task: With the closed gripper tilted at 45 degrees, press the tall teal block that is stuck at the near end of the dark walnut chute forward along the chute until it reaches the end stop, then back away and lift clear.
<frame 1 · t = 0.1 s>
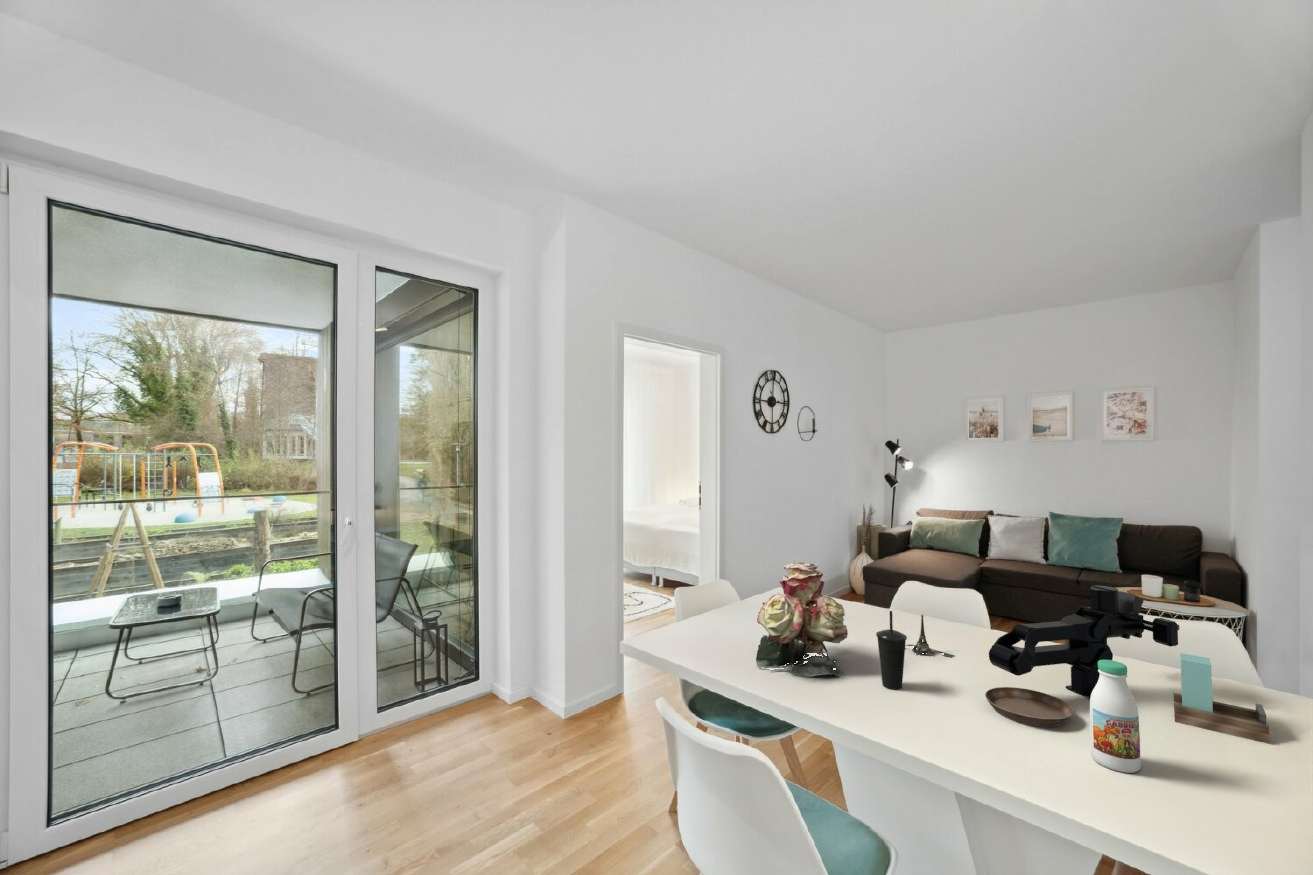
hand: (1159, 621, 150), 17 cm above the table, tool horizontal, fingers open, 9 cm apart
drinking cup: (892, 686, 149), on the table
milk bottle: (1115, 764, 111), on the table
rose bouquet: (803, 663, 166), on the table
chute: (1197, 717, 130), on the table
plant saucer: (1027, 714, 133), on the table
eiffel tower figurine: (924, 654, 174), on the table
jammed block: (1196, 684, 131), point 8 cm above the table, slide at 0.0 cm
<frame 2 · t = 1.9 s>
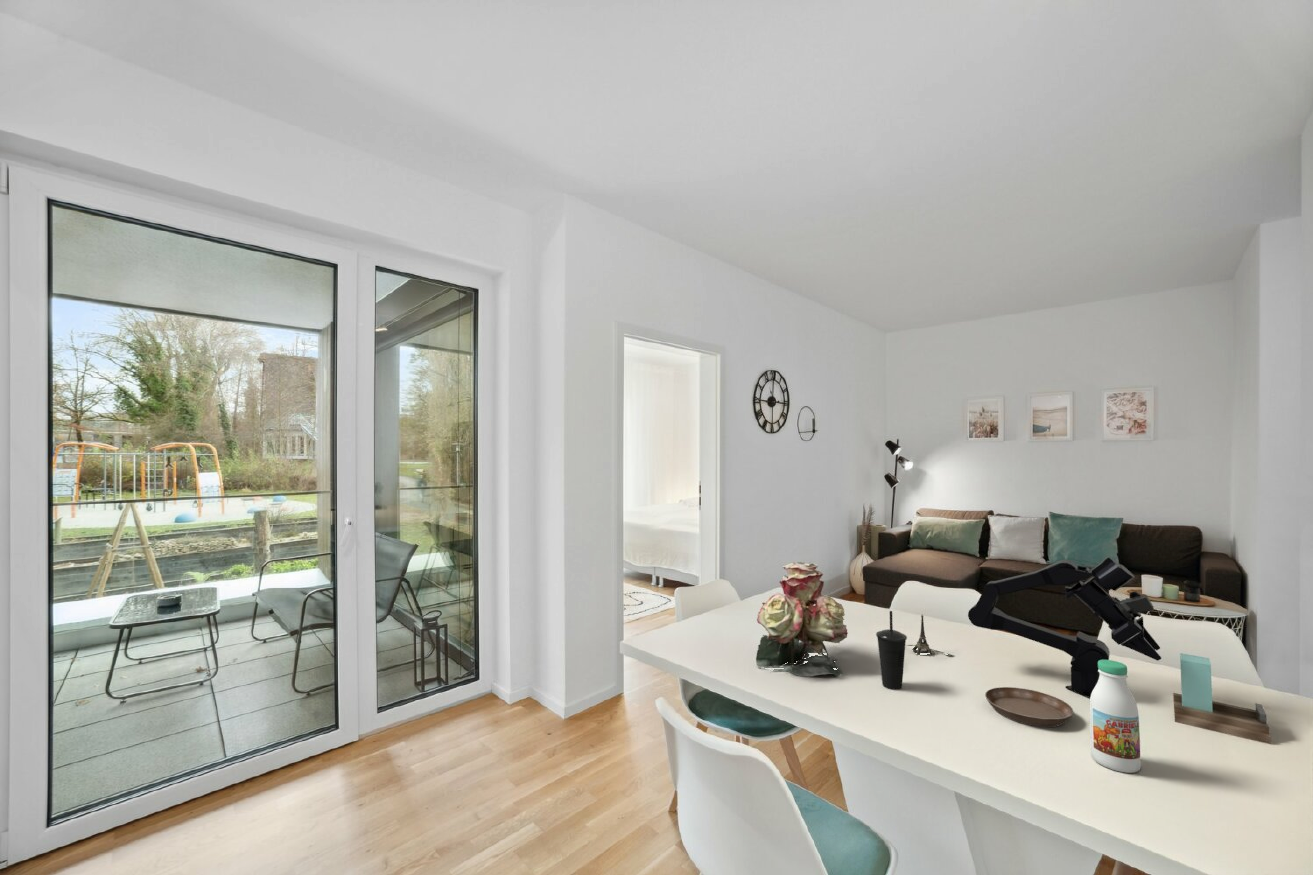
hand: (1159, 654, 135), 13 cm above the table, tool tilted 45°, fingers open, 9 cm apart
nothing on the table moved.
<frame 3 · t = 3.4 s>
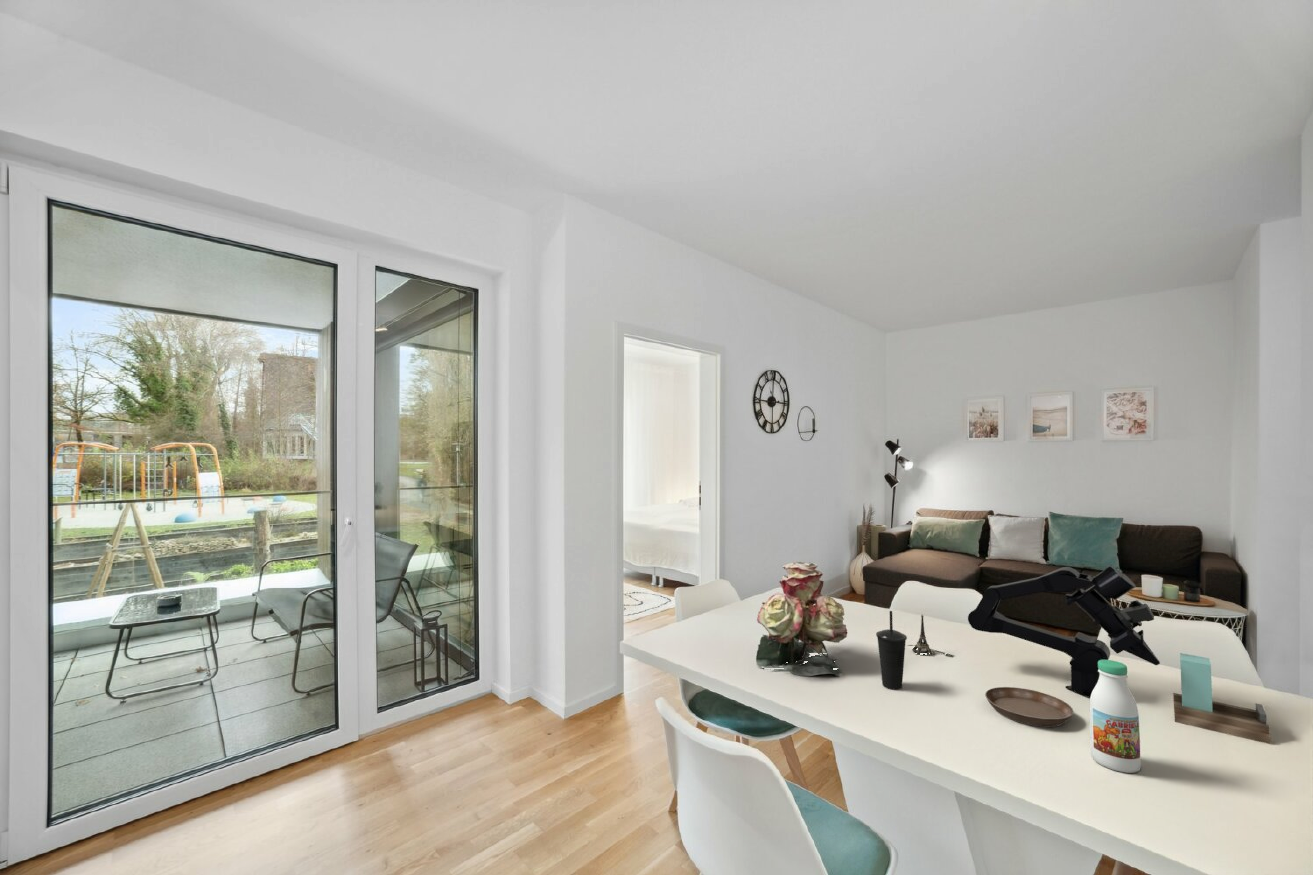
hand: (1158, 664, 135), 11 cm above the table, tool tilted 45°, fingers closed
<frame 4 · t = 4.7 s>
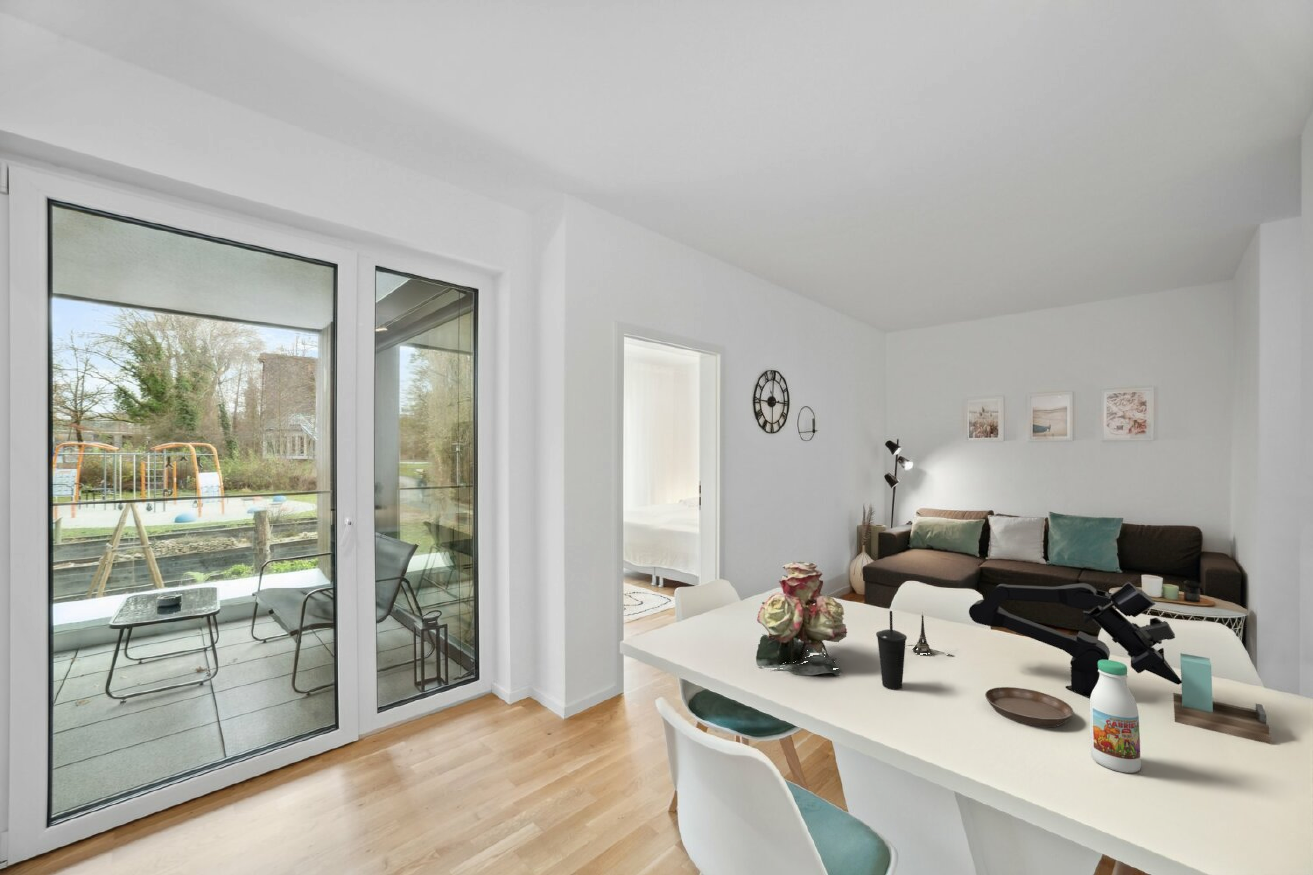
hand: (1180, 683, 132), 7 cm above the table, tool tilted 45°, fingers closed, pressing on jammed block
jammed block: (1196, 684, 131), point 8 cm above the table, slide at 0.0 cm, touching gripper
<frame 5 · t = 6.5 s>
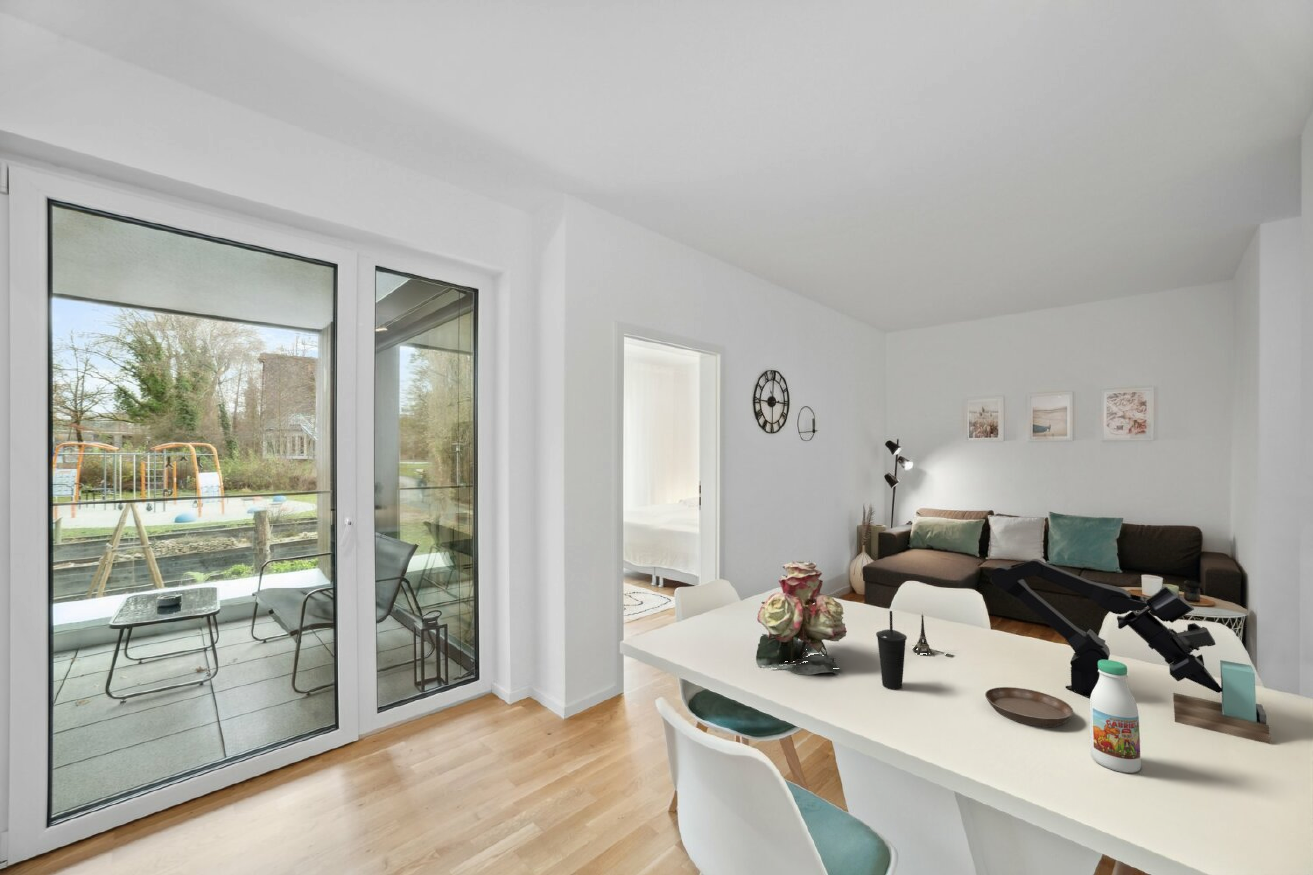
hand: (1220, 691, 128), 7 cm above the table, tool tilted 45°, fingers closed, pressing on jammed block
jammed block: (1238, 692, 126), point 8 cm above the table, slide at 6.8 cm, touching gripper
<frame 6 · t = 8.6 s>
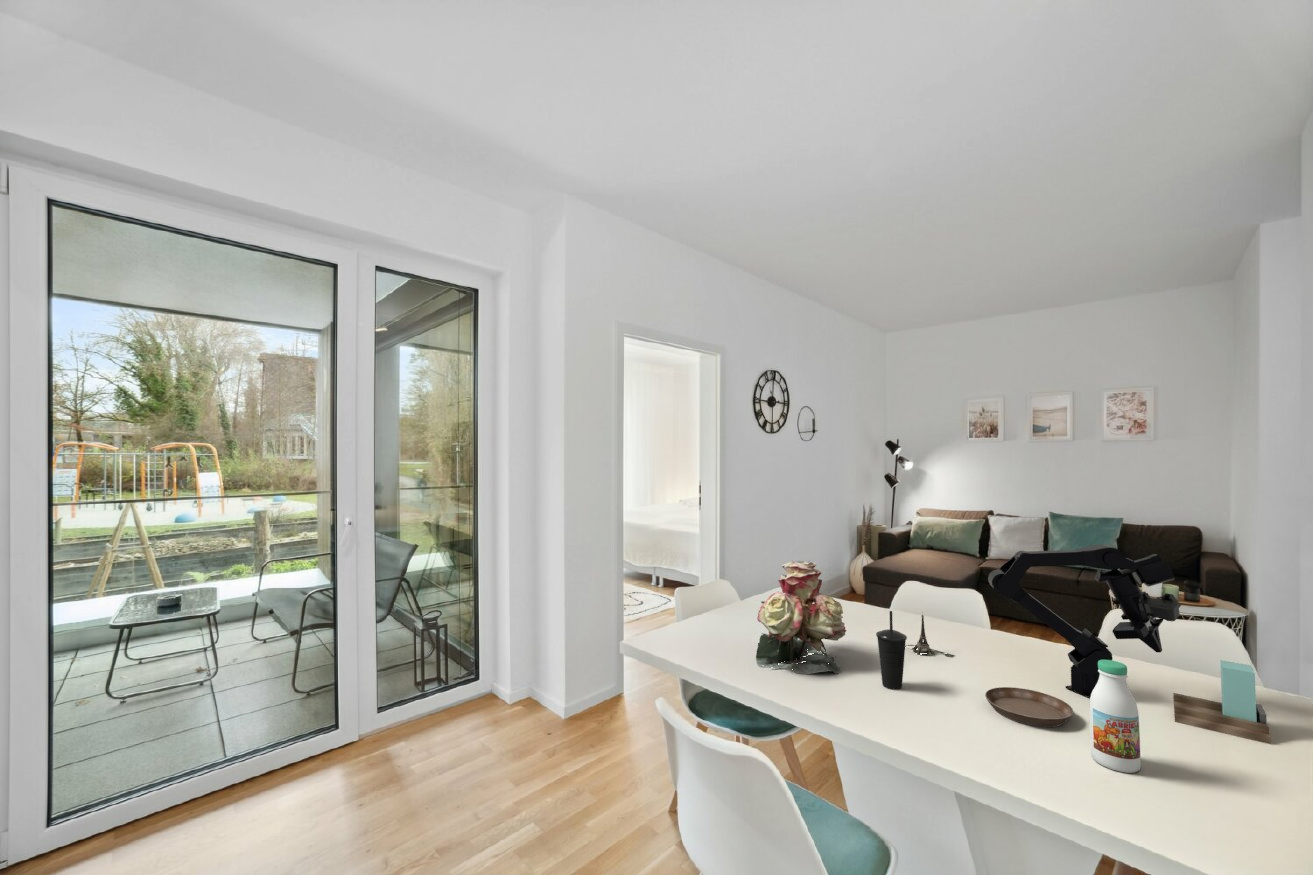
hand: (1159, 651, 139), 12 cm above the table, tool tilted 25°, fingers closed
jammed block: (1238, 692, 126), point 8 cm above the table, slide at 6.8 cm
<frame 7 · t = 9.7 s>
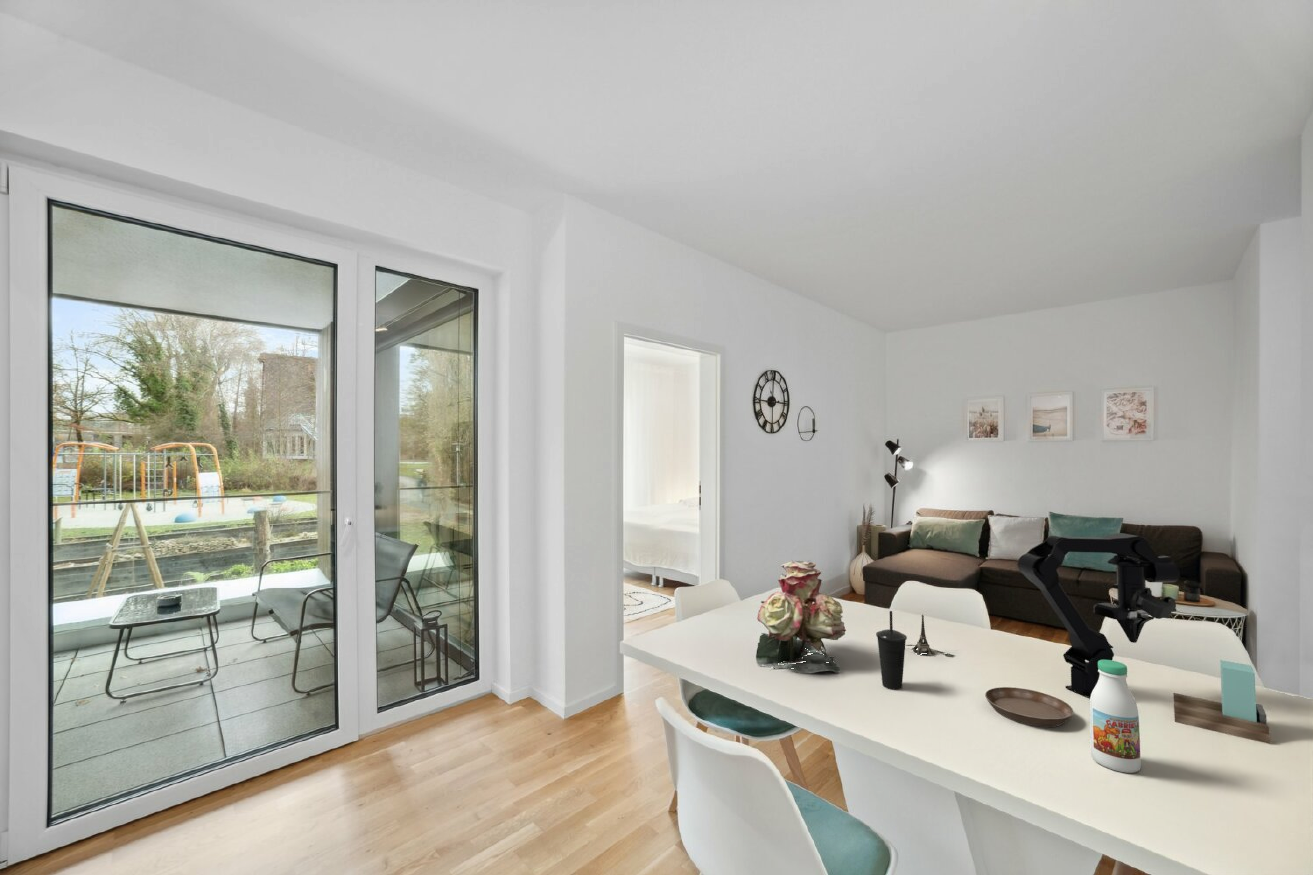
hand: (1133, 642, 144), 13 cm above the table, tool pointing down, fingers closed
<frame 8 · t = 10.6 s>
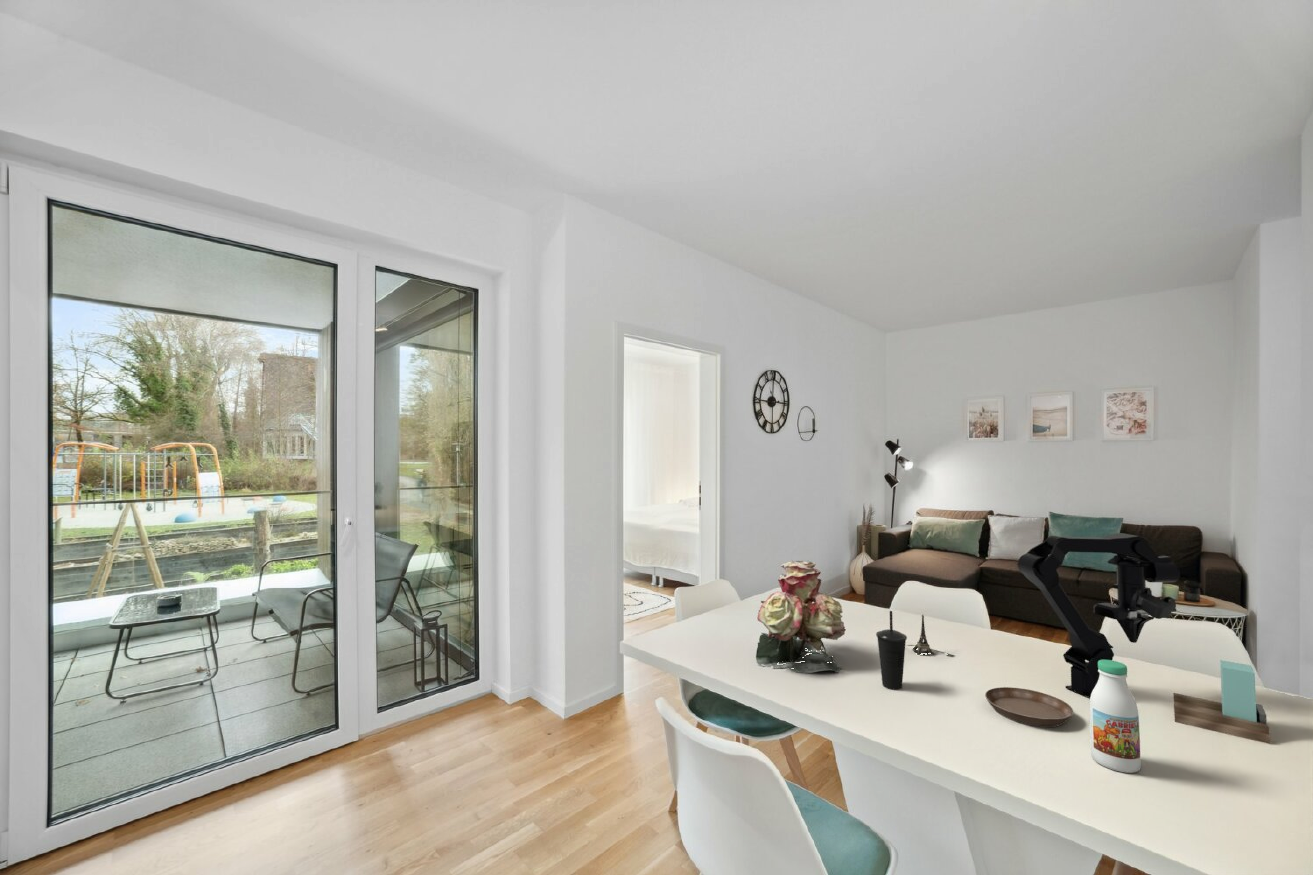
hand: (1133, 642, 144), 13 cm above the table, tool pointing down, fingers closed
at the end: jammed block slide at 6.8 cm; jammed block moved 6.8 cm from its start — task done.
